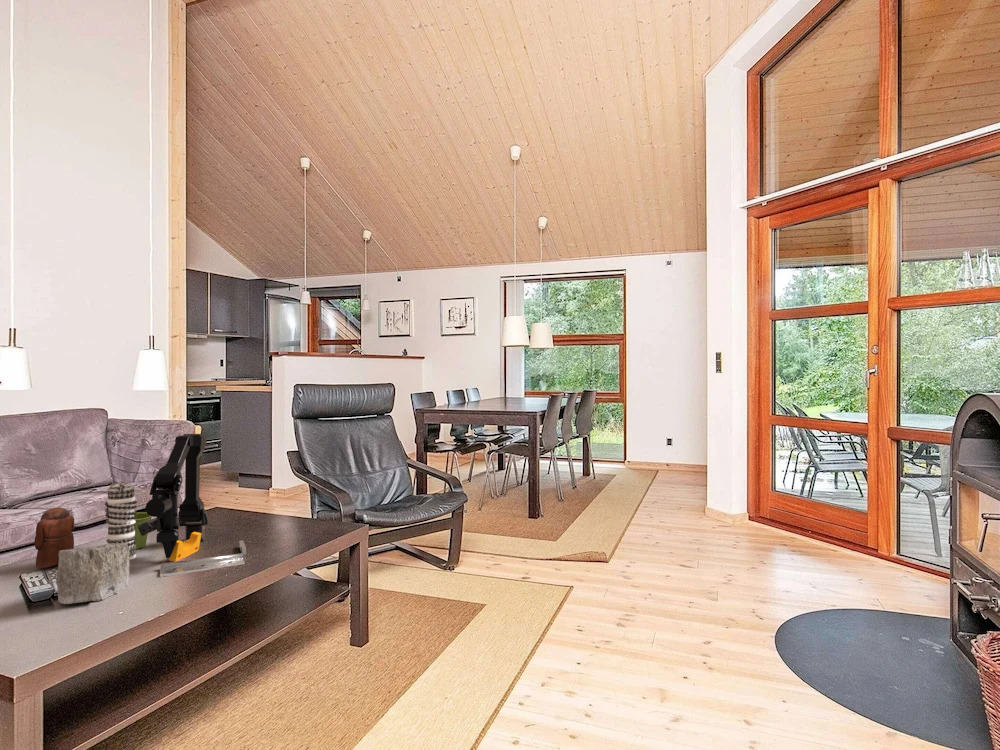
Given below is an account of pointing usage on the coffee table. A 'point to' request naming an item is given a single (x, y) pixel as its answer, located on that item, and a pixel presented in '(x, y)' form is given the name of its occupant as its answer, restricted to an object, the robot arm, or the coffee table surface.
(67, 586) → the petrified wood
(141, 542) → the plant pot
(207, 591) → the coffee table surface
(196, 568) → the hinge bed
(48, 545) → the wooden figurine
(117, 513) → the decorative candle
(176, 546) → the pipe clamp
